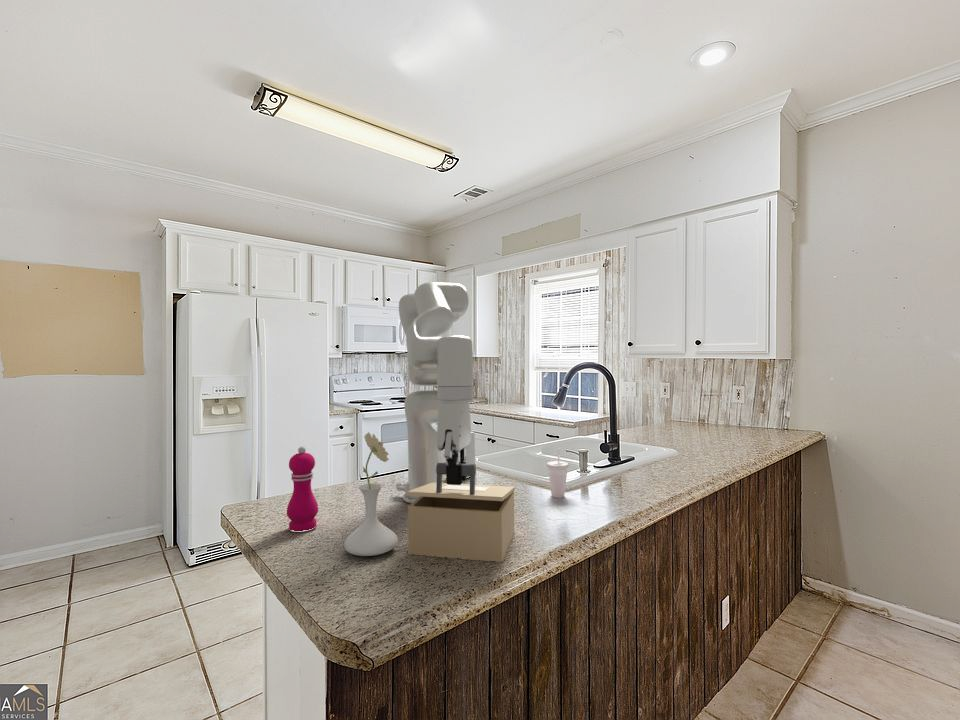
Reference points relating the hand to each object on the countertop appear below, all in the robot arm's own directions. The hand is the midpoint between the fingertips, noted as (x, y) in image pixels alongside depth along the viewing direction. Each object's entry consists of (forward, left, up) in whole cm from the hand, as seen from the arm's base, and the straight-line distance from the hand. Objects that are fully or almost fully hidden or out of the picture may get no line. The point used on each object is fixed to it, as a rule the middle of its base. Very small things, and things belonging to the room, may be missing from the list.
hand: (456, 481), depth 98 cm
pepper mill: (-41, +7, -15) cm, 44 cm away
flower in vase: (-19, -1, -15) cm, 25 cm away
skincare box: (-16, +62, -15) cm, 66 cm away
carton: (0, +6, -15) cm, 16 cm away
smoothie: (+18, +46, -15) cm, 52 cm away
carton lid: (0, +6, -4) cm, 7 cm away
